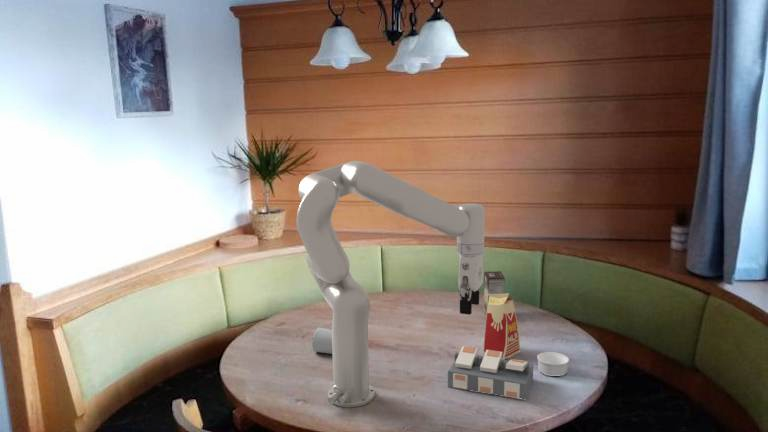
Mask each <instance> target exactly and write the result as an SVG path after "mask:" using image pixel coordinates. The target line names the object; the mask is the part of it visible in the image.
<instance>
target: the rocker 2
mask: <svg viewBox="0 0 768 432" xmlns="http://www.w3.org/2000/svg"><path fill="white" fill-rule="evenodd" d="M509 360H510V361H509V362H508V363H506V369H513V370H519V371H523V370H524V369H525V368H526V365H527V363H528V361H527V360H523V359H515V358H512V359H509Z"/></svg>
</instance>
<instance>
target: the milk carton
mask: <svg viewBox="0 0 768 432" xmlns="http://www.w3.org/2000/svg"><path fill="white" fill-rule="evenodd" d="M488 295H489V296H490V297H489V302H488V308H487V316H485V327H484V337H483V338H484V339H483V351H482V353H483V355H485V352H486V350H494V351H500V352H502V358H501V359H503V360H505V359H506V358H508V357H510V356H512V355H514V354H516V353H517V354H519V353H520V352H521V344H520V336H519V335H520V334H519V333H520V332H519V327H518V321H517V314H516V309H515V304H514V303H515V302H514V299H513V298H511V297H509V295H510V292H506V293H505V292H504V294H488ZM519 351H520V352H519ZM518 352H519V353H518ZM517 354H516V355H517ZM514 356H515V355H514ZM512 357H513V356H512ZM510 358H511V357H510ZM508 359H509V358H508ZM506 360H507V359H506Z"/></svg>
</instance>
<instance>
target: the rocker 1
mask: <svg viewBox="0 0 768 432" xmlns="http://www.w3.org/2000/svg"><path fill="white" fill-rule="evenodd" d="M478 351H479V348H477V347H473V346H466V345H465V346H464V345H462V346H461V348H460V351H459V352H458V357H457V360H456V362H455V361H454V362H455V367H461V368H467V369H471V368H472V365H473V363H474V360H475V357H476V355H477V356H478Z"/></svg>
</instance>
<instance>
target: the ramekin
mask: <svg viewBox="0 0 768 432" xmlns="http://www.w3.org/2000/svg"><path fill="white" fill-rule="evenodd" d="M536 357H537V364H538V365H537V366H538V367H537V369H538V371H539V372H540V371H541V372H542V373H545V374H549V375H562V374H565V373H566V372H567V373H568V366H569V363H570V358H569V357H568V356H567V355H565V354H563V353H560V352H554V351H545V352H540V353H539V354H537V356H536ZM542 373H541V374H542ZM567 373H566V374H567Z"/></svg>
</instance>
